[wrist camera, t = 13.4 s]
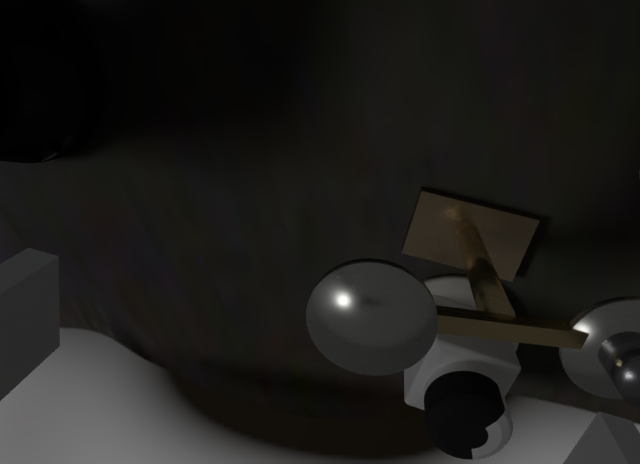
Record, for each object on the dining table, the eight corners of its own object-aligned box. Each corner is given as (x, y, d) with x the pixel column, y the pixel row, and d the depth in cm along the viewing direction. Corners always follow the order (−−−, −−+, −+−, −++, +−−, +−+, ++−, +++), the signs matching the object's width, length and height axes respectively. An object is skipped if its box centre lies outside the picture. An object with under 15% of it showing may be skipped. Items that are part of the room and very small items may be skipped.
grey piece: (402, 352, 44) (404, 453, 33) (429, 293, 41) (440, 382, 30) (472, 375, 44) (497, 484, 33) (503, 317, 41) (542, 416, 30)
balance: (335, 235, 42) (295, 355, 25) (353, 163, 39) (320, 248, 23) (575, 298, 40) (695, 468, 24) (611, 229, 38) (775, 368, 21)
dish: (375, 359, 46) (375, 367, 45) (409, 259, 42) (409, 265, 40) (489, 391, 46) (492, 399, 45) (537, 293, 41) (541, 300, 40)
